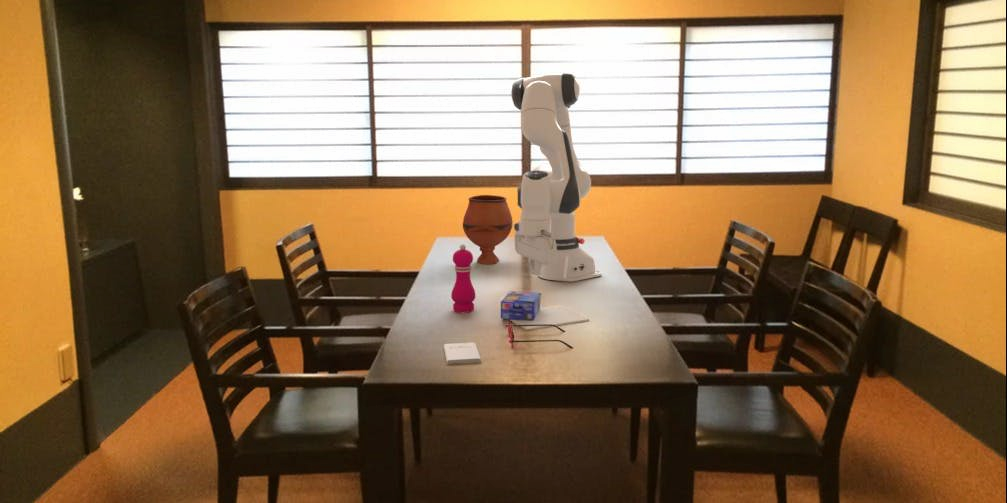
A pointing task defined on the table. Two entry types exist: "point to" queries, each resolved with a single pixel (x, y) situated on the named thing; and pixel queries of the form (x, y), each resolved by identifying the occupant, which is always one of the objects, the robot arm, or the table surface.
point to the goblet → (487, 224)
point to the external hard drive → (461, 353)
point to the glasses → (511, 335)
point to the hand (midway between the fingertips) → (535, 274)
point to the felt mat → (552, 317)
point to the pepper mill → (463, 281)
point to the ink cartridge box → (520, 305)
